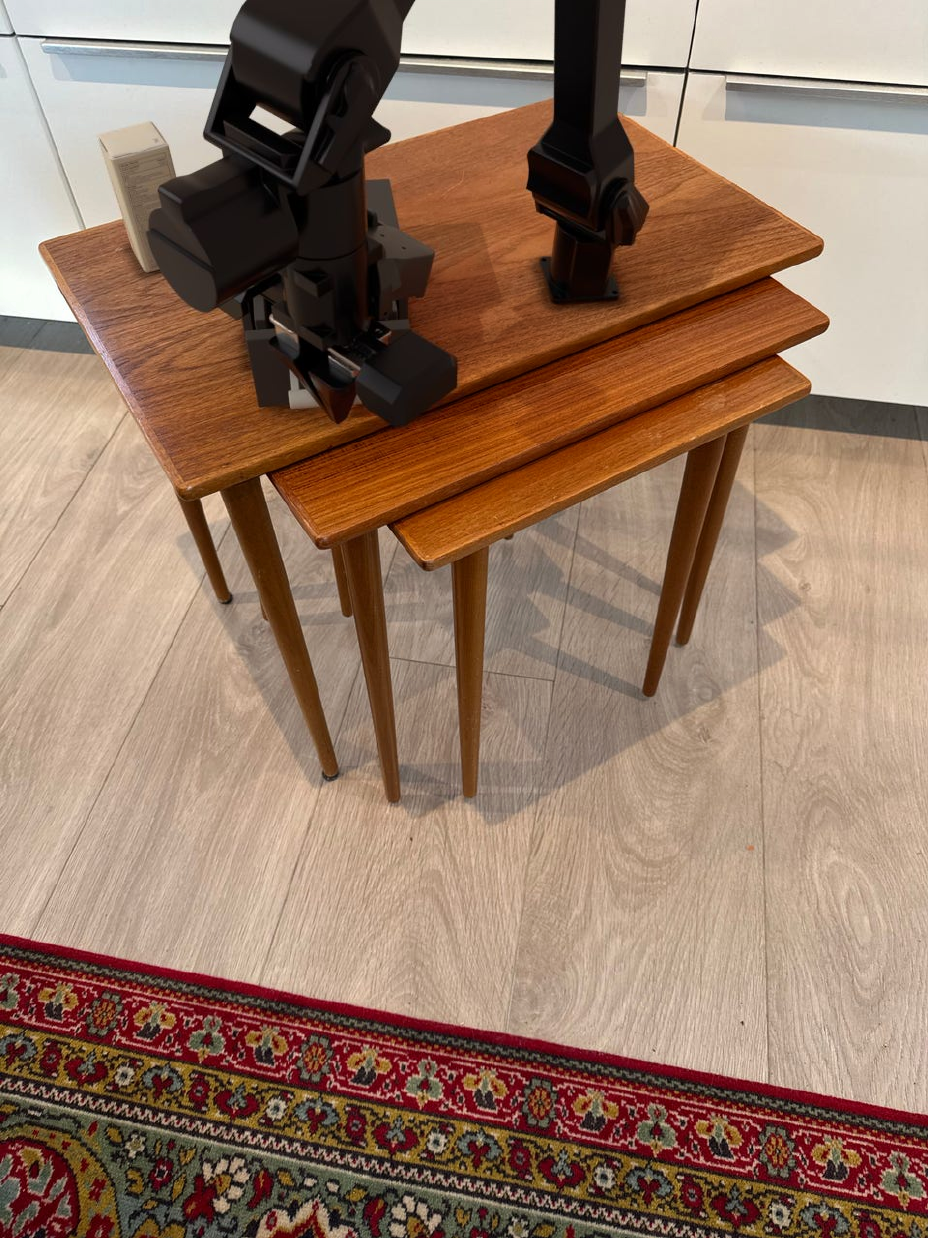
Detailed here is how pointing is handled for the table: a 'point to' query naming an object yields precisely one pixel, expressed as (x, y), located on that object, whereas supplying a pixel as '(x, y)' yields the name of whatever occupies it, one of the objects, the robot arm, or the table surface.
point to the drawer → (274, 375)
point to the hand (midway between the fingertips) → (339, 419)
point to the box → (137, 179)
